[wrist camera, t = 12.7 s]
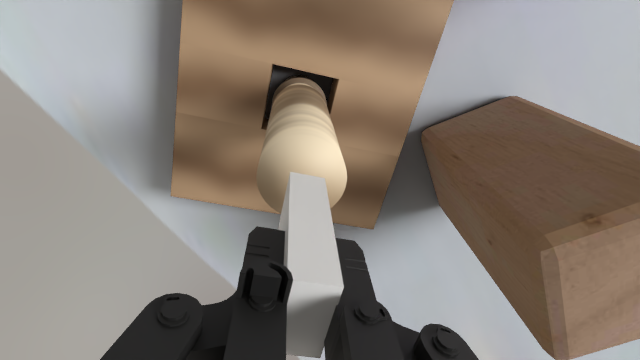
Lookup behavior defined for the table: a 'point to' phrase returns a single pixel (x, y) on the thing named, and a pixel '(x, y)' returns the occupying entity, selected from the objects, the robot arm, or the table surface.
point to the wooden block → (546, 218)
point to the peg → (299, 142)
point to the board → (306, 55)
